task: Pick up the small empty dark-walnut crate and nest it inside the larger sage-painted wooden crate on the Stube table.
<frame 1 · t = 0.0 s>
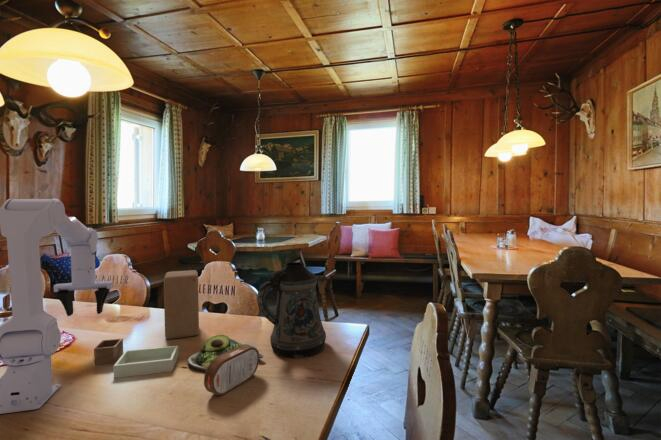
hand: (85, 313, 102), 10 cm above the table, fingers open, 7 cm apart
walnut crate: (109, 361, 94), on the table
tin: (234, 386, 81), on the table
beer stein: (295, 349, 102), on the table
salad plate: (224, 359, 96), on the table
wooden block: (182, 333, 114), on the table
sage crate: (148, 366, 91), on the table
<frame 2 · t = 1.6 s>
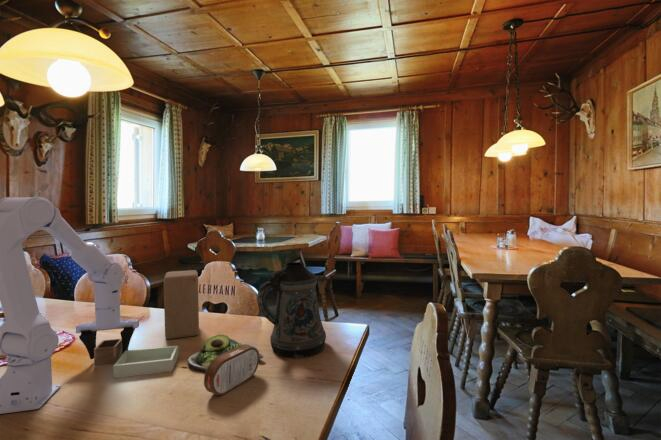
hand: (109, 355, 94), 1 cm above the table, fingers open, 7 cm apart
nothing on the table moved.
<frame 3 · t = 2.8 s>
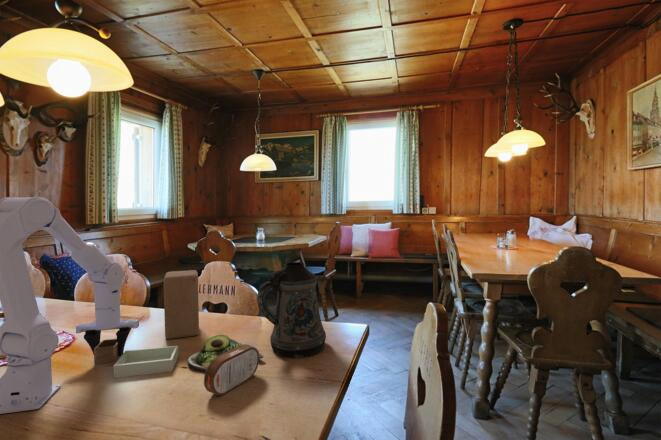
hand: (109, 356, 94), 1 cm above the table, fingers closed on walnut crate, 5 cm apart
walnut crate: (109, 361, 94), on the table, touching gripper
everything else where it was.
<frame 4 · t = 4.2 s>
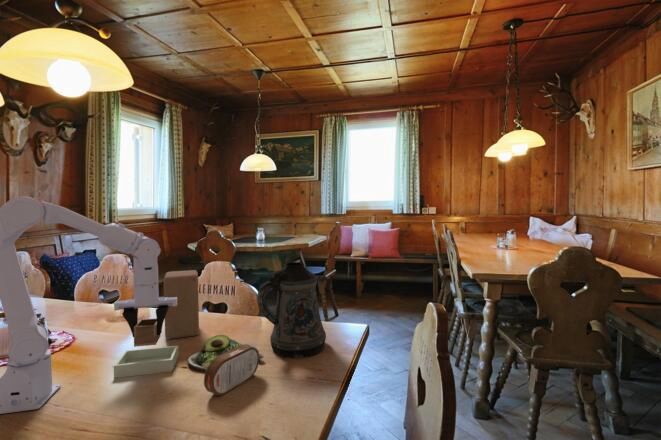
hand: (147, 334, 90), 8 cm above the table, fingers closed on walnut crate, 5 cm apart
walnut crate: (147, 341, 91), point 7 cm above the table, touching gripper
everything else where it was.
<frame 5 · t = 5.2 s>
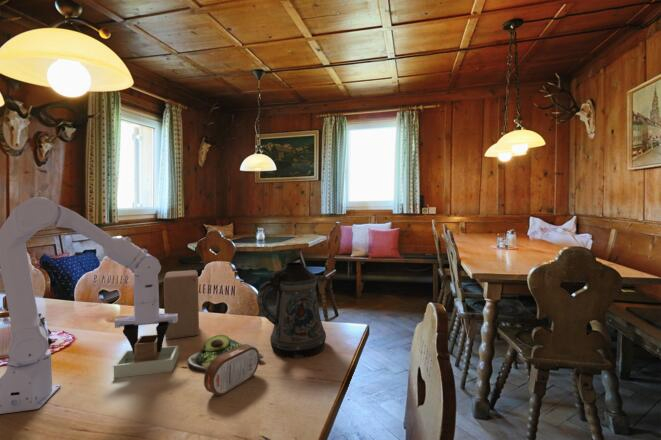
hand: (147, 351, 91), 4 cm above the table, fingers closed on walnut crate, 5 cm apart
walnut crate: (148, 357, 91), point 2 cm above the table, touching gripper
everything else where it was.
when the fingers open (4 cm above the table, at t = 5.9 s): walnut crate drops 2 cm, resting on sage crate.
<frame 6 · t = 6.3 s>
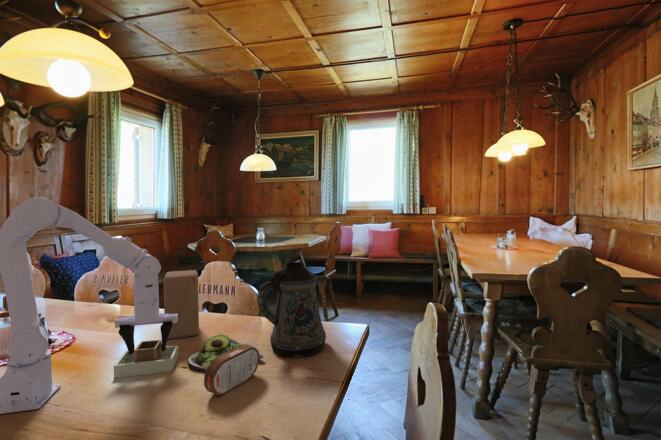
hand: (148, 351, 91), 4 cm above the table, fingers open, 7 cm apart
walnut crate: (148, 363, 91), point 1 cm above the table, touching sage crate
everything else where it was.
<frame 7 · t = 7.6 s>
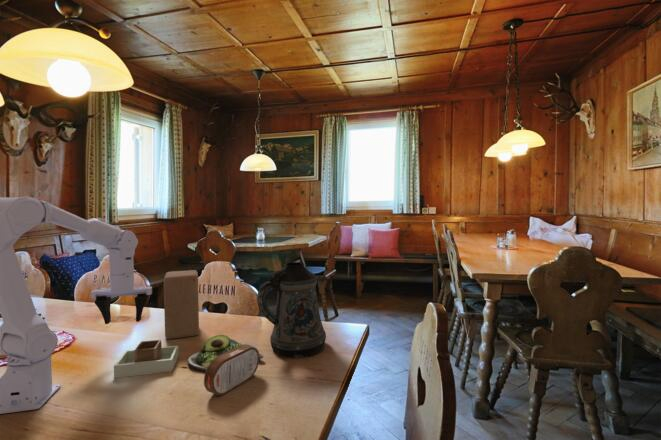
hand: (123, 321, 96), 10 cm above the table, fingers open, 7 cm apart
nothing on the table moved.
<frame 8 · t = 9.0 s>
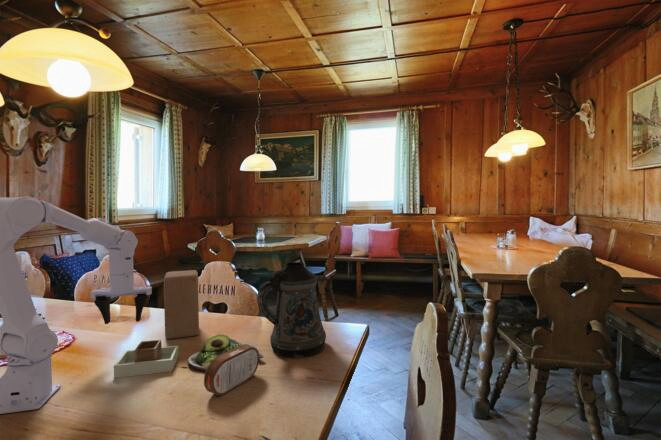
hand: (123, 321, 96), 10 cm above the table, fingers open, 7 cm apart
nothing on the table moved.
at the end: walnut crate inside the target area on the sage crate (0.2 cm from its centre), point 0.6 cm above the sage crate's base; walnut crate tilted 0°; the gripper is holding nothing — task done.
